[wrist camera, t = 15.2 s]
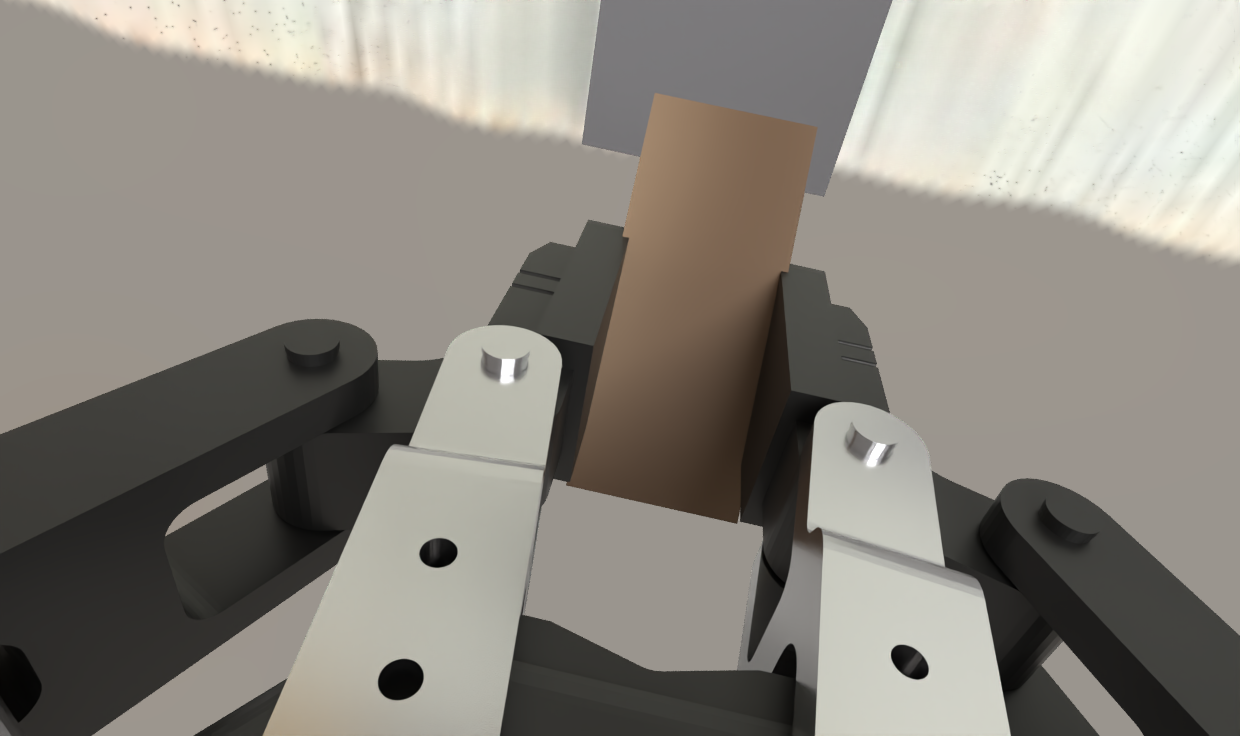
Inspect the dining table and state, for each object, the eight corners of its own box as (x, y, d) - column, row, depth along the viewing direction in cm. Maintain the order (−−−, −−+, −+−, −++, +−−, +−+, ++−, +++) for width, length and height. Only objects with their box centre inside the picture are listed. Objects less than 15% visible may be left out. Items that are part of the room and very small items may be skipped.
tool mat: (896, -30, 25) (901, -27, 24) (822, 187, 29) (823, 196, 29) (616, -87, 25) (612, -86, 24) (586, 136, 30) (581, 144, 29)
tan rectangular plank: (701, 311, 27) (817, 126, 11) (668, 468, 26) (737, 523, 10) (636, 296, 27) (654, 92, 11) (601, 453, 26) (566, 485, 10)
